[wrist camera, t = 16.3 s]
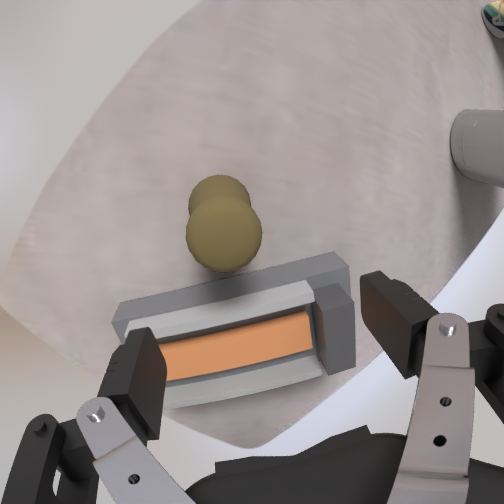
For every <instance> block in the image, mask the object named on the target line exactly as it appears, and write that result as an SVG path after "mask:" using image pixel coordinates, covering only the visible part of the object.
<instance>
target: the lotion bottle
mask: <svg viewBox="0 0 504 504" xmlns="http://www.w3.org/2000/svg"><path fill="white" fill-rule="evenodd" d="M481 12H482V18H483V20H484V23H485V25H486V27H487V28H488V30H489V31H490V32H491V33H492V34H493V35H494V36H495V37H497V38H504V0H501V1H497V2H493V3H490V4H487V5H484V6H483V7H482V11H481Z"/></svg>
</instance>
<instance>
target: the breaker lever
mask: <svg viewBox="0 0 504 504" xmlns="http://www.w3.org/2000/svg"><path fill="white" fill-rule="evenodd" d="M158 345H159V347H160V350H161V352H162V354H163V356H164V358H165V361H166V365H167V379H166V381H169V380H175V379H181V378H187V377H192V376H197V375H203V374H208V373H213V372H218V371H223V370H227V369H232V368H237V367H241V366H245V365H250V364H254V363H258V362H262V361H266V360H270V359H274V358H278V357H282V356H286V355H290V354H293V353H297V352H301V351H304V350H308V349H311V348H313V346H312V338H311V331H310V323H309V317H308V315H307V313H306V311H302V312H298V313H294V314H291V315H287V316H283V317H279V318H275V319H271V320H267V321H263V322H259V323H255V324H251V325H247V326H243V327H239V328H234V329H230V330H226V331H221V332H217V333H212V334H208V335H203V336H198V337H193V338H189V339H184V340H179V341H174V342H169V343H164V344H158Z"/></svg>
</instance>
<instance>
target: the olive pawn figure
mask: <svg viewBox="0 0 504 504" xmlns="http://www.w3.org/2000/svg"><path fill="white" fill-rule="evenodd" d="M188 209H189V213H190V219H189V221H188V223H187V226H186V241H187V245H188V249H189V251H190V252H191V254H192V255H193V257H194V258H195V260H196V261H197V262H199V263H200V264H201V265H202V266H204V267H205V268H208V269H210V270H213V271H216V272H230V271H234V270H238V269H240V268H242V267H244V266H245V265H247V264H248V263H249V262H250V261H251V260H252V259H253V258H254V257H255V256H256V254H257V252H258V250H259V248H260V245H261V239H262V228H261V222H260V220H259V218H258V216H257V215H256V213H255V211H254V210H253V209H252V208H251V202H250V197H249V193H248V192H247V190H246V188H245V187H244V185H242V184H241V183H240V182H239V181H238V180H237V179H234V178H232V177H230V176H225V175H215V176H211V177H207V178H206V179H204V180H202V181H201V182H199V183H198V185H197V186H196V187H195V188H194V189H193V191H192V193H191V196H190V198H189V208H188Z"/></svg>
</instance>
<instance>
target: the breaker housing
mask: <svg viewBox="0 0 504 504" xmlns="http://www.w3.org/2000/svg"><path fill="white" fill-rule="evenodd" d="M302 311H306V313H307V315H308V317H309V323H310V331H311V338H312V346H313V348H311V349H308V350H304V351H301V352H297V353H293V354H290V355H286V356H282V357H278V358H274V359H270V360H266V361H262V362H258V363H254V364H250V365H245V366H241V367H237V368H232V369H227V370H223V371H218V372H213V373H208V374H203V375H197V376H192V377H187V378H181V379H175V380H169V381H166V386H165V394H164V401H163V408H164V409H172V408H179V407H185V406H192V405H198V404H204V403H209V402H215V401H220V400H225V399H230V398H235V397H240V396H244V395H249V394H253V393H258V392H262V391H266V390H270V389H274V388H278V387H282V386H286V385H290V384H293V383H297V382H301V381H304V380H308V379H311V378H315V377H318V376H321V375H323V373H322V367H321V365H320V363H319V361H321V362H322V364H323V366H324V368H325V370H326V372H327V374H328V376H329V375H332V374H335V373H338V372H341V371H344V370H347V369H350V368H353V367H356V348H355V311H354V301H353V300H352V299H351V290H350V275H349V266H348V265H347V264H346V263H345V262H344V261H343V260H342V259H341V258H340V257H339V256H338V255H337V254H336V253H335V252H330V253H327V254H323V255H319V256H315V257H311V258H307V259H303V260H299V261H295V262H291V263H287V264H283V265H279V266H275V267H271V268H267V269H263V270H259V271H254V272H250V273H246V274H242V275H238V276H234V277H230V278H225V279H221V280H217V281H213V282H209V283H204V284H200V285H196V286H192V287H187V288H183V289H179V290H174V291H170V292H166V293H161V294H157V295H153V296H148V297H144V298H139V299H135V300H130V301H126V302H121V303H120V304H119V306H118V309H117V311H116V313H115V315H114V317H113V319H112V322H111V323H112V325H113V327H114V329H115V331H116V333H117V335H118V337H119V339H120V341H121V343H122V345H123V344H125V341H126V338H127V335H128V333H129V331H130V330H133V329H138V328H144V327H149V328H150V329H151V330H152V332H153V334H154V336H155V339H156V341H157V343H158V344H164V343H169V342H174V341H179V340H184V339H189V338H193V337H198V336H203V335H208V334H212V333H217V332H221V331H226V330H230V329H234V328H239V327H243V326H247V325H251V324H255V323H259V322H263V321H267V320H271V319H275V318H279V317H283V316H287V315H291V314H294V313H298V312H302Z"/></svg>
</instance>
